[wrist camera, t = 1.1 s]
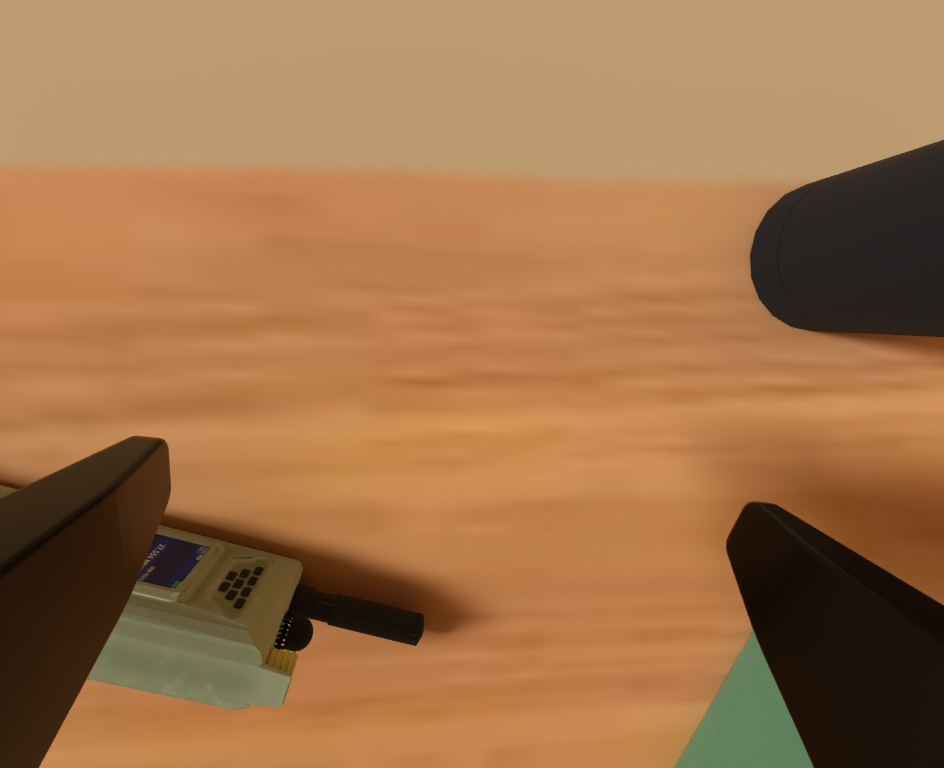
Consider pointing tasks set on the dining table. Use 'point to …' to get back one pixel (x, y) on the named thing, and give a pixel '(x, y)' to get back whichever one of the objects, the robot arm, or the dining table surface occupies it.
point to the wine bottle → (859, 249)
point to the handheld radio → (227, 622)
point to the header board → (747, 722)
